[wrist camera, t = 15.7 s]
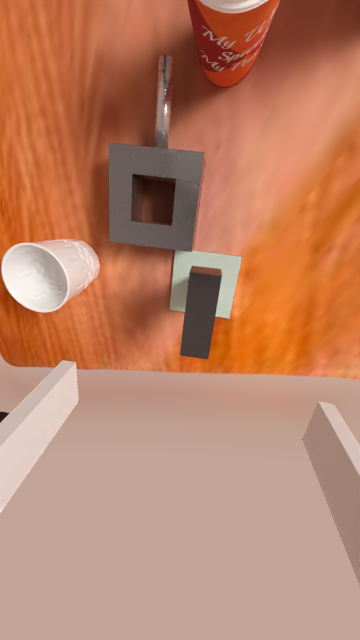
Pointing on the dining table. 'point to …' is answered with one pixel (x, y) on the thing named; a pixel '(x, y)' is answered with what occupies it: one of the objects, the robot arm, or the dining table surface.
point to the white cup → (48, 272)
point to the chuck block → (160, 165)
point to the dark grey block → (200, 311)
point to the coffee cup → (230, 36)
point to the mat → (210, 260)
